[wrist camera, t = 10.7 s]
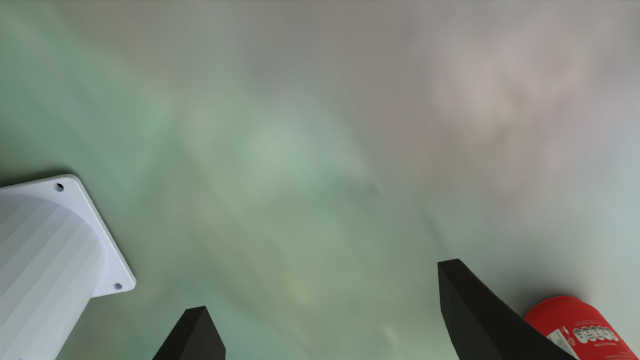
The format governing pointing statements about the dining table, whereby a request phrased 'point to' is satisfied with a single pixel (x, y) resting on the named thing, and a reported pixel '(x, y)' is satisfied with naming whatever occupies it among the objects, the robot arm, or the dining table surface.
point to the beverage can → (578, 329)
